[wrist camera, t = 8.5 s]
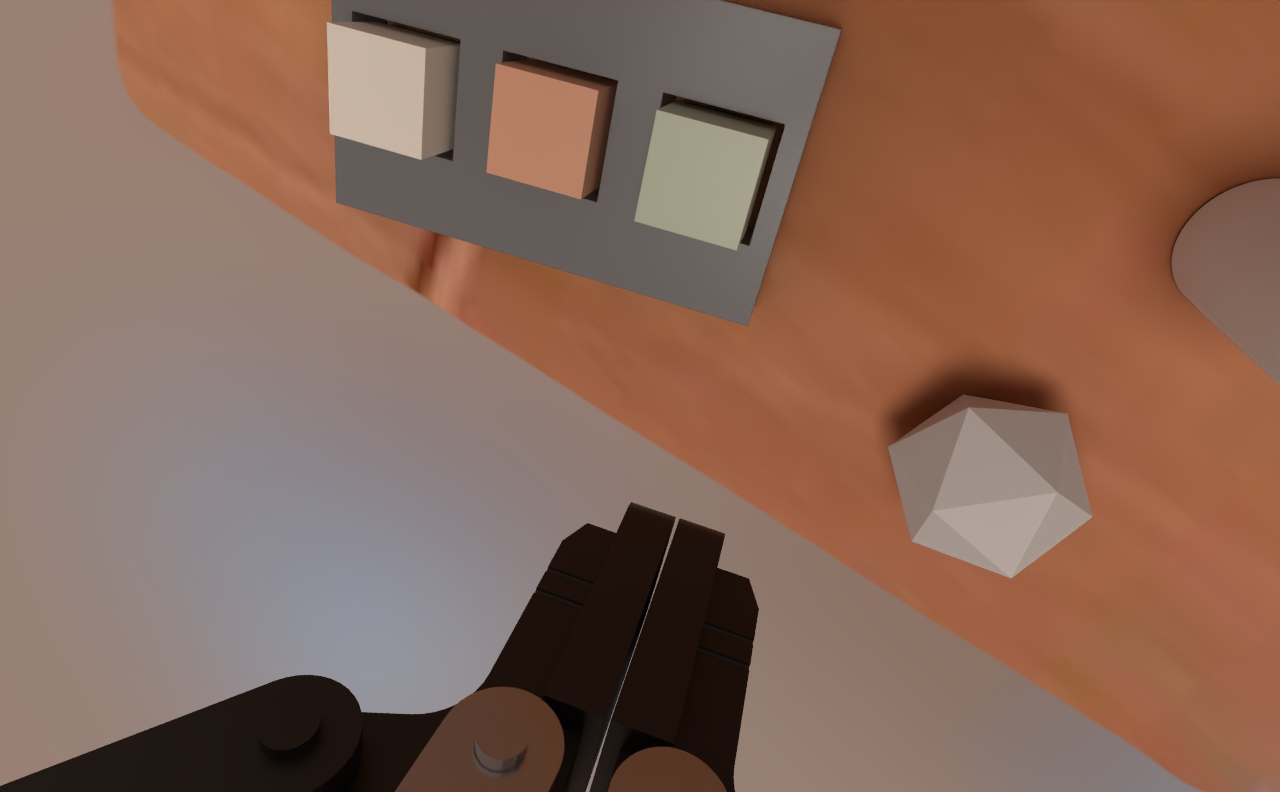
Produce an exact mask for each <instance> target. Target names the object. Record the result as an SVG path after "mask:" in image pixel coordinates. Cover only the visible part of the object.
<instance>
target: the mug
mask: <svg viewBox="0 0 1280 792" xmlns="http://www.w3.org/2000/svg"><path fill="white" fill-rule="evenodd" d="M1171 266H1172V274H1173V277H1174V280H1175V283H1176V285H1177V287H1178V288H1179V290H1180V291H1181V293H1182V294H1183V295H1184V296H1185V297H1186V298H1187V299H1188V300H1189V301H1190V302H1191V303H1192V304H1193V305H1194V306H1195V307H1196V308H1197V309H1198V310H1199V311H1200V312H1201V313H1202V314H1203V315H1204V316H1205V317H1206V318H1207V319H1208V320H1209V321H1210V322H1211V323H1212V324H1214V325H1215V326H1216V327H1217V328H1218V329H1219V330H1220V331H1221V332H1222V333H1223V334H1224V335H1226V336H1227V337H1228V338H1229V339H1230V340H1231V341H1232V342H1233V343H1234V344H1235V345H1236V346H1237V347H1238V348H1239V349H1241V350H1242V351H1243V352H1244V353H1245V354H1246V355H1247V356H1248V357H1249V358H1250V359H1251V360H1252V361H1253V362H1254V363H1255V364H1257V365H1258V366H1259V367H1260V368H1261V369H1262V370H1263V371H1264V372H1265V373H1266V374H1267V375H1268V376H1269V377H1270V378H1271V379H1273V380H1274V381H1275V382H1276V383H1277V384H1278V385H1279V386H1280V178H1274V179H1264V180H1258V181H1253V182H1249V183H1246V184H1243V185H1240V186H1237V187H1234V188H1232V189H1230V190H1228V191H1226V192H1224V193H1222V194H1220V195H1218V196H1217V197H1215V198H1214V199H1212V200H1211V201H1209V202H1208V203H1206V204H1205V205H1204V206H1203V207H1202V208H1200V209H1199V210H1198V211H1197V212H1196V213H1195V214H1194V215H1193V216H1192V217H1191V218H1190V220H1189V221H1188V222H1187V223H1186V225H1185V226H1184V227H1183V229H1182V231H1181V232H1180V234H1179V236H1178V238H1177V240H1176V243H1175V245H1174V249H1173V253H1172V260H1171Z"/></svg>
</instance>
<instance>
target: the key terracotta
mask: <svg viewBox="0 0 1280 792" xmlns="http://www.w3.org/2000/svg"><path fill="white" fill-rule="evenodd" d="M617 85H618V82H616V81H613V80H609V79H605V78H601V77H597V76H594V75H590V74H586V73H582V72H578V71H574V70H571V69H567V68H563V67H559V66H555V65H552V64H548V63H544V62H540V61H536V60H533V59H525V60H517V61H510V62H503V63H496V68H495V79H494V91H493V102H492V113H491V125H490V136H489V147H488V159H487V170H486V173H490V174H493V175H497V176H500V177H504V178H507V179H511V180H514V181H518V182H521V183H525V184H528V185H532V186H535V187H539V188H542V189H546V190H549V191H553V192H556V193H560V194H563V195H567V196H570V197H574V198H577V199H582V198H584V197H585V196H587V195H588V194H590V193H591V192H593V191H594V190H596V189H597V188H599V187H600V183H601V177H602V171H603V166H604V160H605V154H606V148H607V143H608V137H609V131H610V125H611V119H612V114H613V108H614V102H615V96H616V90H617Z"/></svg>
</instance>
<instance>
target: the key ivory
mask: <svg viewBox="0 0 1280 792" xmlns="http://www.w3.org/2000/svg"><path fill="white" fill-rule="evenodd" d="M327 44H328V82H329V121H330V134H333V135H336V136H340V137H343V138H346V139H350V140H353V141H357V142H360V143H364V144H367V145H371V146H374V147H378V148H381V149H385V150H388V151H392V152H395V153H399V154H402V155H406V156H409V157H413V158H416V159H420V160H423V159H426V158H429V157H432V156H435V155H438V154H440V153H443V152H446V151H449V150H452V149H454V136H455V120H456V104H457V89H458V73H459V57H460V43H457V42H453V41H449V40H445V39H441V38H438V37H434V36H430V35H426V34H422V33H419V32H415V31H411V30H407V29H403V28H400V27H396V26H392V25H388V24H384V23H381V22H327Z"/></svg>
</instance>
